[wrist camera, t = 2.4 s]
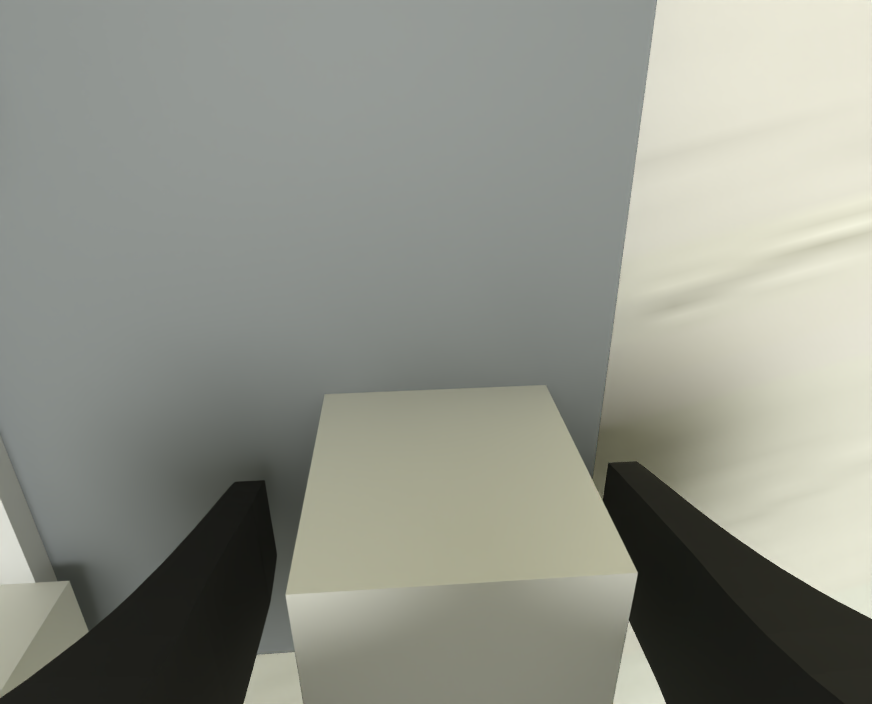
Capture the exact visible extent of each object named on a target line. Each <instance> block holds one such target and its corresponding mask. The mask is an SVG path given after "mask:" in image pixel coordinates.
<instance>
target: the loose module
mask: <svg viewBox="0 0 872 704" xmlns="http://www.w3.org/2000/svg"><path fill="white" fill-rule="evenodd" d="M637 575H638V572H637V570H636V568H635V566H634V564H633V562H632V560H631V558H630V556H629V554H628V552H627V550H626V548H625V546H624V544H623V542H622V539H621V537H620V535H619V533H618V531H617V529H616V527H615V525H614V523H613V521H612V519H611V517H610V515H609V513H608V511H607V509H606V507H605V505H604V503H603V501H602V499H601V497H600V495H599V493H598V490H597V488H596V486H595V484H594V482H593V480H592V478H591V476H590V474H589V472H588V470H587V468H586V466H585V464H584V462H583V460H582V458H581V456H580V454H579V452H578V450H577V448H576V446H575V444H574V441H573V439H572V437H571V435H570V433H569V431H568V429H567V427H566V425H565V423H564V421H563V419H562V417H561V415H560V413H559V411H558V409H557V407H556V405H555V403H554V401H553V399H552V397H551V395H550V392H549V390H548V388H547V386H546V385H532V386H508V387H485V388H461V389H437V390H413V391H389V392H365V393H342V394H325V395H324V400H323V405H322V410H321V416H320V421H319V426H318V431H317V436H316V441H315V446H314V451H313V456H312V462H311V467H310V472H309V477H308V482H307V487H306V492H305V497H304V502H303V508H302V513H301V518H300V523H299V528H298V533H297V538H296V543H295V548H294V554H293V559H292V564H291V569H290V574H289V579H288V584H287V589H286V601H287V607H288V613H289V619H290V625H291V631H292V637H293V643H294V649H295V656H296V662H297V668H298V674H299V680H300V686H301V692H302V698H303V704H613V699H614V694H615V689H616V683H617V678H618V673H619V668H620V663H621V658H622V652H623V647H624V642H625V637H626V632H627V627H628V621H629V616H630V611H631V606H632V601H633V596H634V590H635V585H636V580H637Z"/></svg>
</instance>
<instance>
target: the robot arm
mask: <svg viewBox="0 0 872 704" xmlns="http://www.w3.org/2000/svg"><path fill="white" fill-rule="evenodd" d="M603 503H604V505H605V507H606V509H607V511H608V513H609V515H610V517H611V519H612V521H613V523H614V525H615V527H616V529H617V531H618V533H619V535H620V537H621V539H622V542H623V544H624V546H625V548H626V550H627V552H628V554H629V556H630V558H631V560H632V562H633V564H634V566H635V568H636V570H637V572H638V575H637V580H636V585H635V590H634V596H633V601H632V606H631V611H630V616H629V621H630V624H631V626H632V628H633V630H634V632H635V635H636V637H637V639H638V641H639V643H640V645H641V648H642V650H643V652H644V654H645V656H646V658H647V661H648V663H649V665H650V667H651V669H652V671H653V674H654V676H655V678H656V680H657V682H658V685H659V687H660V690H661V692H662V694H663V697H664V699H665V702H666V704H872V619H871V618H869V617H867V616H865V615H863V614H861V613H859V612H857V611H855V610H853V609H851V608H849V607H847V606H846V605H844V604H842V603H840V602H838V601H836V600H834V599H832V598H831V597H829V596H827V595H825V594H823V593H822V592H820V591H818V590H816V589H815V588H813V587H811V586H810V585H808V584H806V583H805V582H803V581H801V580H800V579H798V578H796V577H795V576H793V575H791V574H790V573H788V572H786V571H785V570H783V569H781V568H780V567H778V566H777V565H775V564H774V563H772V562H770V561H769V560H767V559H766V558H764V557H763V556H761V555H760V554H758V553H757V552H756V551H754V550H753V549H751V548H750V547H748V546H747V545H745V544H744V543H742V542H741V541H740V540H738V539H737V538H735V537H734V536H732V535H731V534H730V533H728V532H727V531H726V530H724V529H723V528H721V527H720V526H719V525H717V524H716V523H715V522H713V521H712V520H711V519H709V518H708V517H707V516H705V515H704V514H703V513H702V512H700V511H699V510H698V509H696V508H695V507H694V506H693V505H691V504H690V503H689V502H687V501H686V500H685V499H684V498H682V497H681V496H680V495H679V494H677V493H676V492H675V491H674V490H672V489H671V488H670V487H669V486H667V485H666V484H665V483H664V482H662V481H661V480H660V479H659V478H657V477H656V476H655V475H654V474H652V473H651V472H650V471H649V470H647V469H646V468H645V467H643V466H642V465H641V464H639V463H638V462H637V461H636V462H616V463H608V469H607V476H606V483H605V490H604V496H603ZM276 561H277V551H276V545H275V539H274V533H273V527H272V521H271V515H270V509H269V503H268V497H267V491H266V485H265V480H259V481H239V482H234V483H233V484H232V485H231V486H230V487H229V488H228V489H227V490H226V492H225V493H224V494H223V495H222V496H221V497H220V499H219V500H218V501H217V502H216V503H215V504H214V506H213V507H212V508H211V509H210V510H209V512H208V513H207V514H206V515H205V516H204V517H203V518H202V520H201V521H200V522H199V523H198V524H197V525H196V527H195V528H194V529H193V530H192V531H191V532H190V533H189V534H188V535H187V537H186V538H185V539H184V540H183V541H182V542H181V543H180V544H179V545H178V546H177V548H176V549H175V550H174V551H173V552H172V553H171V554H170V555H169V556H168V557H167V558H166V559H165V561H164V562H163V563H162V564H161V565H160V566H159V567H158V568H157V569H156V570H155V571H154V572H153V573H152V574H151V575H150V576H149V577H148V578H147V579H146V580H145V581H144V582H143V583H142V584H141V585H140V586H139V587H138V588H137V589H136V590H135V591H134V592H133V593H132V594H131V595H130V596H128V597H127V598H126V599H125V600H124V601H123V602H122V603H121V604H120V605H119V606H118V607H117V608H116V609H114V610H113V611H112V612H111V613H110V614H109V615H108V616H106V617H105V618H104V619H103V620H102V621H101V622H99V623H98V624H97V625H96V626H95V627H94V628H92V629H91V630H90V631H89V632H88V633H86V634H85V635H84V636H83V637H82V638H80V639H79V640H78V641H77V642H75V643H74V644H73V645H71V646H70V647H69V648H67V649H66V650H65V651H64V652H62V653H61V654H60V655H58V656H57V657H56V658H54V659H53V660H52V661H50V662H49V663H48V664H46V665H45V666H44V667H43V668H41V669H40V670H39V671H37V672H36V673H35V674H33V675H32V676H31V677H29V678H28V679H27V680H25V681H24V682H22V683H21V684H20V685H18V686H17V687H15V688H14V689H13V690H11V691H10V692H8V693H7V694H5V695H4V696H2V697H1V698H0V704H243V703H244V699H245V696H246V692H247V688H248V685H249V681H250V677H251V674H252V670H253V666H254V663H255V659H256V655H257V652H258V648H259V644H260V641H261V637H262V633H263V629H264V625H265V622H266V618H267V614H268V610H269V606H270V602H271V596H272V589H273V583H274V576H275V568H276Z"/></svg>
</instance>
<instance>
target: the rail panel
mask: <svg viewBox="0 0 872 704" xmlns="http://www.w3.org/2000/svg"><path fill="white" fill-rule="evenodd" d="M656 4H657V0H0V698H1V697H2V696H4V695H5V694H7V693H8V692H10V691H11V690H13V689H14V688H15V687H17V686H18V685H20V684H21V683H22V682H24V681H25V680H27V679H28V678H29V677H31V676H32V675H33V674H35V673H36V672H37V671H39V670H40V669H41V668H43V667H44V666H45V665H46V664H48V663H49V662H50V661H52V660H53V659H54V658H56V657H57V656H58V655H60V654H61V653H62V652H64V651H65V650H66V649H67V648H69V647H70V646H71V645H73V644H74V643H75V642H77V641H78V640H79V639H80V638H82V637H83V636H84V635H85V634H86V633H88V632H89V631H90V630H91V629H92V628H94V627H95V626H96V625H97V624H98V623H99V622H101V621H102V620H103V619H104V618H105V617H106V616H108V615H109V614H110V613H111V612H112V611H113V610H114V609H116V608H117V607H118V606H119V605H120V604H121V603H122V602H123V601H124V600H125V599H126V598H127V597H128V596H130V595H131V594H132V593H133V592H134V591H135V590H136V589H137V588H138V587H139V586H140V585H141V584H142V583H143V582H144V581H145V580H146V579H147V578H148V577H149V576H150V575H151V574H152V573H153V572H154V571H155V570H156V569H157V568H158V567H159V566H160V565H161V564H162V563H163V562H164V561H165V559H166V558H167V557H168V556H169V555H170V554H171V553H172V552H173V551H174V550H175V549H176V548H177V546H178V545H179V544H180V543H181V542H182V541H183V540H184V539H185V538H186V537H187V535H188V534H189V533H190V532H191V531H192V530H193V529H194V528H195V527H196V525H197V524H198V523H199V522H200V521H201V520H202V518H203V517H204V516H205V515H206V514H207V513H208V512H209V510H210V509H211V508H212V507H213V506H214V504H215V503H216V502H217V501H218V500H219V499H220V497H221V496H222V495H223V494H224V493H225V492H226V490H227V489H228V488H229V487H230V486H231V485H232V484H233V483H234V482H239V481H259V480H265V485H266V491H267V497H268V503H269V509H270V515H271V521H272V527H273V533H274V539H275V545H276V551H277V561H276V568H275V576H274V583H273V589H272V596H271V602H270V606H269V610H268V614H267V618H266V622H265V625H264V629H263V633H262V637H261V641H260V644H259V648H258V652H257V654H272V653H287V652H295V649H294V643H293V637H292V631H291V625H290V619H289V613H288V607H287V601H286V589H287V584H288V579H289V574H290V569H291V564H292V559H293V554H294V548H295V543H296V538H297V533H298V528H299V523H300V518H301V513H302V508H303V502H304V497H305V492H306V487H307V482H308V477H309V472H310V467H311V462H312V456H313V451H314V446H315V441H316V436H317V431H318V426H319V421H320V416H321V410H322V405H323V400H324V395H325V394H342V393H365V392H389V391H413V390H437V389H461V388H485V387H508V386H532V385H546V386H547V388H548V390H549V392H550V395H551V397H552V399H553V401H554V403H555V405H556V407H557V409H558V411H559V413H560V415H561V417H562V419H563V421H564V423H565V425H566V427H567V429H568V431H569V433H570V435H571V437H572V439H573V441H574V444H575V446H576V448H577V450H578V452H579V454H580V456H581V458H582V460H583V462H584V464H585V466H586V468H587V470H588V472H589V474H590V476H591V478H592V479H593V471H594V464H595V456H596V449H597V441H598V434H599V427H600V419H601V412H602V404H603V397H604V390H605V382H606V375H607V367H608V360H609V352H610V345H611V338H612V330H613V323H614V315H615V308H616V301H617V293H618V286H619V278H620V271H621V263H622V256H623V249H624V241H625V234H626V226H627V219H628V212H629V204H630V197H631V189H632V182H633V174H634V167H635V160H636V152H637V145H638V137H639V130H640V123H641V115H642V108H643V100H644V93H645V85H646V78H647V71H648V63H649V56H650V48H651V41H652V34H653V26H654V19H655V11H656Z"/></svg>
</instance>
